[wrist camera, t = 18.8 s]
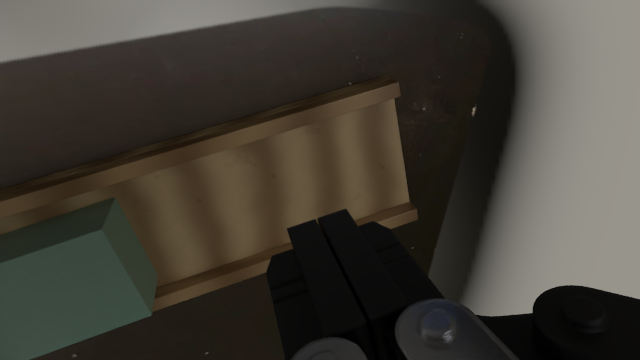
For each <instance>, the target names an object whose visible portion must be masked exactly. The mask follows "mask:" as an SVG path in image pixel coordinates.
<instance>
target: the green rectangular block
mask: <svg viewBox="0 0 640 360" xmlns="http://www.w3.org/2000/svg"><path fill="white" fill-rule="evenodd" d="M157 279H158V275H157V273H156V271H155V269H154V267H153V265H152V264H151V262H150V260H149V258H148V256H147V254H146V253H145V251H144V249H143V247H142V245H141V243H140V241H139V240H138V238H137V236H136V234H135V232H134V230H133V229H132V227H131V225H130V223H129V221H128V219H127V218H126V216H125V214H124V212H123V210H122V208H121V207H120V205H119V203H118V201H117V199H116V198H115V197H114V198H111V199H108V200H105V201H102V202H99V203H96V204H93V205H90V206H87V207H84V208H81V209H78V210H75V211H72V212H69V213H66V214H62V215H59V216H56V217H53V218H50V219H47V220H44V221H41V222H38V223H35V224H32V225H29V226H26V227H23V228H20V229H17V230H14V231H11V232H8V233H5V234H1V235H0V360H30V359H33V358H36V357H39V356H41V355H44V354H47V353H50V352H52V351H55V350H58V349H61V348H63V347H66V346H69V345H72V344H74V343H77V342H80V341H83V340H85V339H88V338H91V337H94V336H96V335H99V334H102V333H105V332H107V331H110V330H113V329H115V328H118V327H121V326H124V325H126V324H129V323H132V322H135V321H137V320H140V319H143V318H146V317H148V316H151V315H152V311H153V304H154V298H155V292H156V286H157Z"/></svg>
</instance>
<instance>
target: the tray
mask: <svg viewBox="0 0 640 360" xmlns="http://www.w3.org/2000/svg"><path fill="white" fill-rule="evenodd" d="M400 96H401V95H400V88H399V82H397V81H395V80H393V79H391V78H388V77H386V76H381V77H377V78H374V79H371V80H367V81H364V82H361V83H357V84H354V85H351V86H347V87H344V88H340V89H337V90H334V91H330V92H327V93H324V94H320V95H317V96H314V97H310V98H307V99H303V100H300V101H297V102H293V103H290V104H287V105H283V106H280V107H277V108H273V109H270V110H266V111H263V112H260V113H256V114H253V115H250V116H246V117H243V118H240V119H236V120H233V121H229V122H226V123H223V124H219V125H216V126H213V127H209V128H206V129H203V130H199V131H196V132H192V133H189V134H186V135H182V136H179V137H176V138H172V139H169V140H166V141H162V142H159V143H155V144H152V145H149V146H145V147H142V148H139V149H135V150H132V151H128V152H125V153H122V154H118V155H115V156H112V157H108V158H105V159H102V160H98V161H95V162H91V163H88V164H85V165H81V166H78V167H75V168H71V169H68V170H65V171H61V172H58V173H54V174H51V175H48V176H44V177H41V178H38V179H34V180H31V181H28V182H24V183H21V184H17V185H14V186H11V187H7V188H4V189H1V190H0V235H1V234H5V233H8V232H11V231H14V230H17V229H20V228H23V227H26V226H29V225H32V224H35V223H38V222H41V221H44V220H47V219H50V218H53V217H56V216H59V215H62V214H66V213H69V212H72V211H75V210H78V209H81V208H84V207H87V206H90V205H93V204H96V203H99V202H102V201H105V200H108V199H111V198H114V197H115V198H116V199H117V201H118V203H119V205H120V207H121V208H122V210H123V212H124V214H125V216H126V218H127V219H128V221H129V223H130V225H131V227H132V229H133V230H134V232H135V234H136V236H137V238H138V240H139V241H140V243H141V245H142V247H143V249H144V251H145V253H146V254H147V256H148V258H149V260H150V262H151V264H152V265H153V267H154V269H155V271H156V273H157V275H158V279H157V286H156V292H155V298H154V304H153V311H156V310H159V309H162V308H165V307H168V306H171V305H173V304H176V303H179V302H182V301H185V300H188V299H191V298H194V297H196V296H199V295H202V294H205V293H208V292H211V291H214V290H217V289H219V288H222V287H225V286H228V285H231V284H234V283H237V282H240V281H242V280H245V279H248V278H251V277H254V276H257V275H260V274H263V273H265V272H266V271H267V268H268V265H269V262H270V259H271V256H273V255H276V254H278V253H281V252H284V251H287V250H290V249H293V248H292V245H291V241H290V238H289V235H288V232H287V228H289V227H292V226H295V225H298V224H301V223H304V222H307V221H310V220H313V219H316V221H317V218H319V217H322V216H325V215H328V214H331V213H334V212H337V211H340V210H343V209H347V210H348V212H349V213H350V215H351V216H352V218H353V219H354V221H355V222H356V224H357V225H358V226H360V225H363V224H365V223H368V222H371V221H375V222H377V223H379V224H381V225H383V226H385V227H387V228H389V229H392V228H395V227H398V226H401V225H403V224H406V223H409V222H412V221H415V220H418V216H417V209H416V208H415V207H414V206H413V205H412V204H411V203H410V202H409V195H408V188H407V182H406V175H405V168H404V161H403V155H402V148H401V141H400V135H399V128H398V121H397V115H396V108H395V101H394V98H397V97H400ZM317 223H318V221H317ZM153 311H152V312H153Z"/></svg>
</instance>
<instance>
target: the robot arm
mask: <svg viewBox="0 0 640 360" xmlns="http://www.w3.org/2000/svg"><path fill="white" fill-rule="evenodd" d="M317 221H318V223H317ZM317 221H316V219H313V220H310V221H307V222H304V223H301V224H298V225H295V226H292V227H289V228H287V232H288V235H289V238H290V241H291V245H292V248H293V249H290V250H287V251H284V252H281V253H278V254H276V255H273V256H271V259H270V262H269V265H268V268H267V271H266V274H267V279H268V283H269V288H270V292H271V296H272V301H273V304H274V310H275V314H276V319H277V323H278V328H279V332H280V337H281V341H282V345H283V350H284V354H285V360H640V299H636V298H632V297H627V296H623V295H619V294H615V293H611V292H606V291H602V290H598V289H594V288H589V287H584V286H572V285H570V286H559V287H555V288H552V289H549V290H547V291H545V292H543V293H542V294H541V295H540V296H539V297H538V298H537V299H536V301H535V302H534V305H533V313H530V314H520V315H508V316H493V317H489V316H480V315H475V314H474V313H473V312H472V311H471V310H470V309H468V308H467V307H465V306H463V305H461V304H459V303H457V302H455V301H451V300H446V299H445V298H444V297H443V296H442V294H441V293H440V292H439V290H438V289H437V288H436V287H435V285H434V284H433V283H432V282H431V280H430V279H429V278H428V276H427V275H426V274H425V273H424V271H423V270H422V269H421V268H420V266H419V265H418V264H417V263H416V261H415V260H414V259H413V257H412V256H411V255H409V253H408V251H407V250H406V249H405V247H404V246H403V245H402V244H401V243H400V241H399V240H398V239H397V237H396V236H395V235H394V233H393V232H392V231H391V230H390V229H389V228H387V227H385V226H383V225H381V224H379V223H377V222H375V221H371V222H368V223H365V224H363V225H360V226H358V225H357V224H356V222H355V221H354V219H353V218H352V216H351V215H350V213H349V212H348V210H347V209H343V210H340V211H337V212H334V213H331V214H328V215H325V216H322V217H319V218H317Z"/></svg>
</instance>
